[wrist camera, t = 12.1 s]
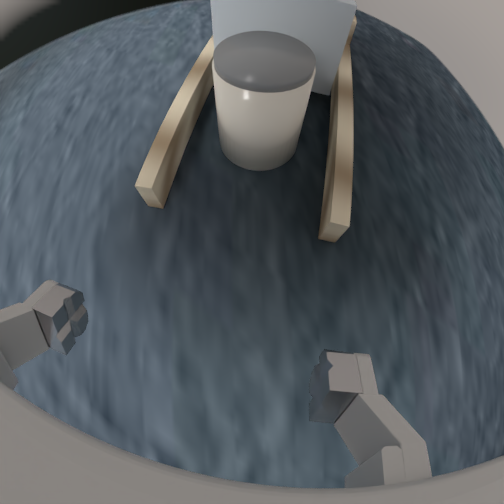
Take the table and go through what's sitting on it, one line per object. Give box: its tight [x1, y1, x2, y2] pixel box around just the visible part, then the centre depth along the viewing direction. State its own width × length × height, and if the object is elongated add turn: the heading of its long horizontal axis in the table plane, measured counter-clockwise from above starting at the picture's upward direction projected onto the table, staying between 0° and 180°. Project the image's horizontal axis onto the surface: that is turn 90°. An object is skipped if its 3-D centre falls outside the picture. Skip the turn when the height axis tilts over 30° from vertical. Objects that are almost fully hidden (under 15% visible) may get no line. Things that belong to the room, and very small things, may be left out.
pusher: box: [211, 0, 357, 95], centre depth 15 cm, size 1×8×8 cm, turn 78°
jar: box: [212, 31, 316, 171], centre depth 14 cm, size 5×5×7 cm
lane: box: [135, 16, 357, 242], centre depth 16 cm, size 18×11×5 cm, turn 169°
